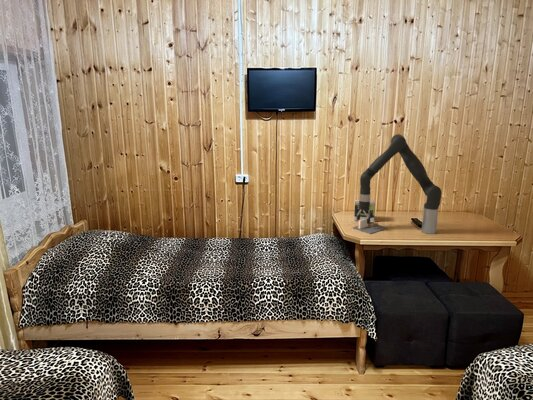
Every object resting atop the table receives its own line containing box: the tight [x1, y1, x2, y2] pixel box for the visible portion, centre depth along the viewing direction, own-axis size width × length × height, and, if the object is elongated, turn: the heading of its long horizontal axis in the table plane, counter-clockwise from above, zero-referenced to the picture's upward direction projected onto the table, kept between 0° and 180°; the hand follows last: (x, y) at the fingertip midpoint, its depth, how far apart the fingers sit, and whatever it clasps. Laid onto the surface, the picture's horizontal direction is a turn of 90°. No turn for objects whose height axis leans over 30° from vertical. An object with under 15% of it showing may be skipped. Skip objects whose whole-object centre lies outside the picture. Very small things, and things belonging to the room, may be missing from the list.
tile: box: [357, 218, 368, 229], centre depth 273 cm, size 6×2×9 cm
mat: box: [352, 224, 389, 235], centre depth 273 cm, size 20×16×1 cm
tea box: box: [353, 199, 376, 222], centre depth 292 cm, size 15×10×15 cm, turn 76°
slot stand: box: [368, 220, 379, 227], centre depth 279 cm, size 7×6×2 cm
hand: (363, 221), depth 273 cm, fingers open, 8 cm apart
